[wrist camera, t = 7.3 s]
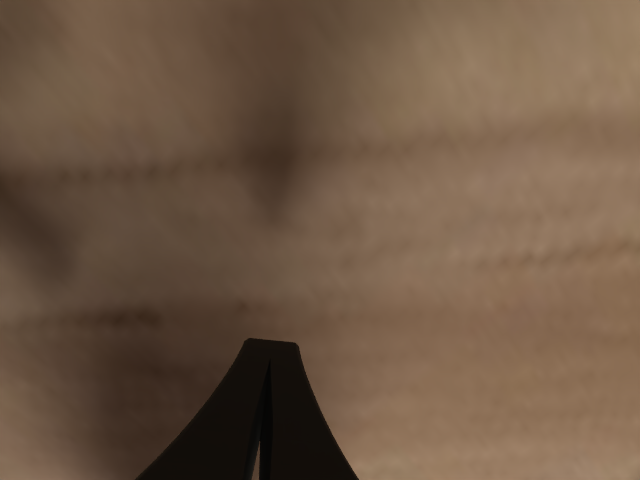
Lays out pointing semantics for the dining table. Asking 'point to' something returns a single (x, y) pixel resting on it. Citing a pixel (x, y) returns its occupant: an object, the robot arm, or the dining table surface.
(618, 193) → the dining table surface
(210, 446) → the robot arm
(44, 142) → the dining table surface
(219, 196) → the dining table surface
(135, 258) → the dining table surface
